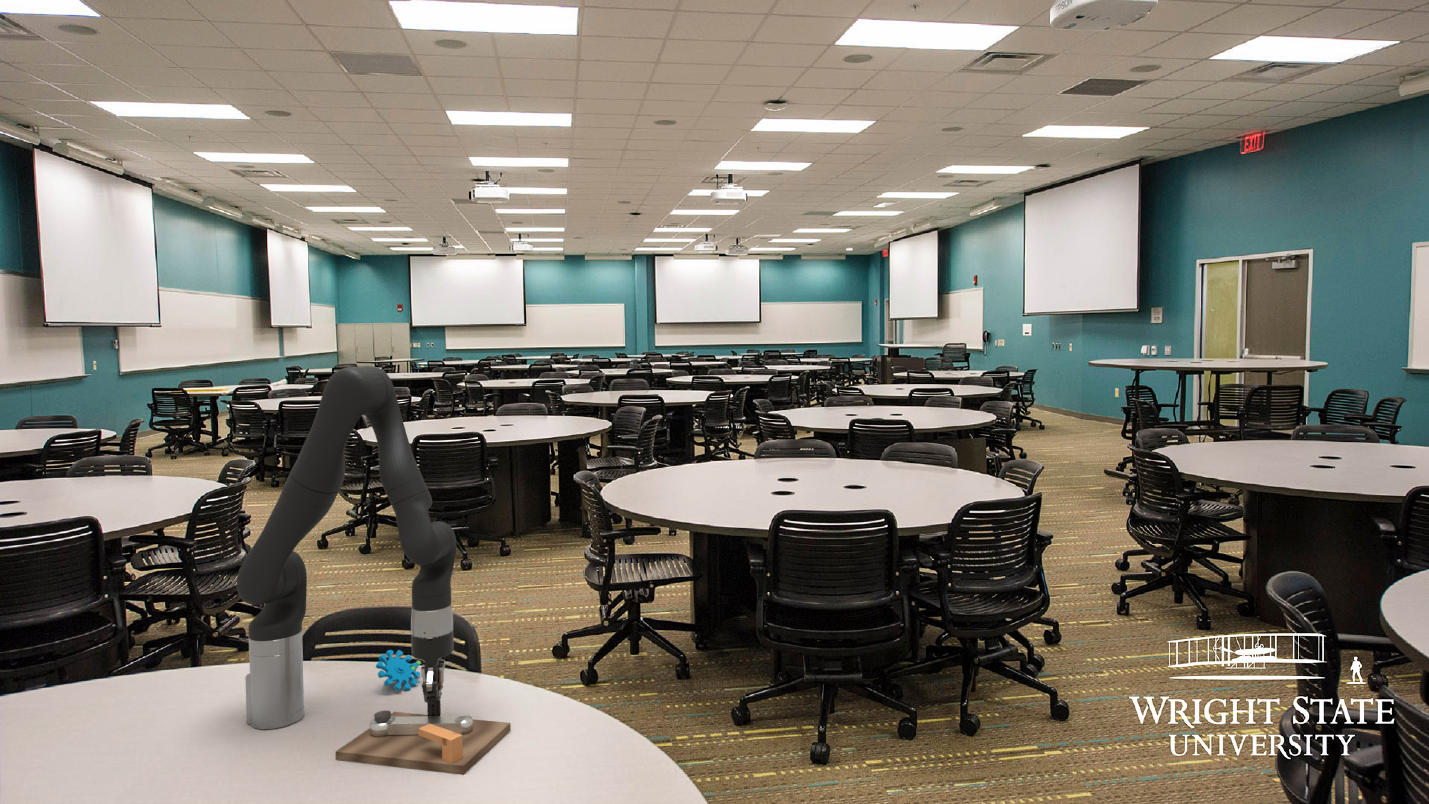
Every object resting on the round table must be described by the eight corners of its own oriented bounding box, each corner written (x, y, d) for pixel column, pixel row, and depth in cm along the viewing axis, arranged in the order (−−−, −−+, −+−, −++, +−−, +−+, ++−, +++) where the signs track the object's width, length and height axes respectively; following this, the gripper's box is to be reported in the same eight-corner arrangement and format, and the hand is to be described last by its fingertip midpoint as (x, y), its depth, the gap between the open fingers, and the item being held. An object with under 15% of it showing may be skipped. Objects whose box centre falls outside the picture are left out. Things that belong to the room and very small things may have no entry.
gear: (391, 691, 167) (372, 651, 171) (376, 708, 168) (357, 668, 173) (432, 681, 176) (413, 643, 180) (418, 697, 178) (399, 659, 182)
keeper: (418, 750, 141) (418, 728, 141) (430, 745, 143) (429, 723, 143) (451, 763, 136) (451, 740, 136) (462, 757, 138) (462, 735, 138)
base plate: (335, 759, 141) (335, 732, 141) (394, 719, 157) (393, 694, 157) (463, 774, 135) (463, 745, 135) (510, 730, 152) (510, 704, 152)
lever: (366, 736, 146) (365, 725, 146) (376, 726, 150) (375, 715, 150) (468, 735, 146) (468, 724, 146) (475, 724, 151) (475, 714, 151)
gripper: (416, 619, 156) (418, 706, 157) (405, 642, 143) (407, 736, 144) (456, 616, 158) (458, 702, 159) (449, 639, 145) (451, 732, 146)
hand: (434, 718), depth 151 cm, fingers closed
